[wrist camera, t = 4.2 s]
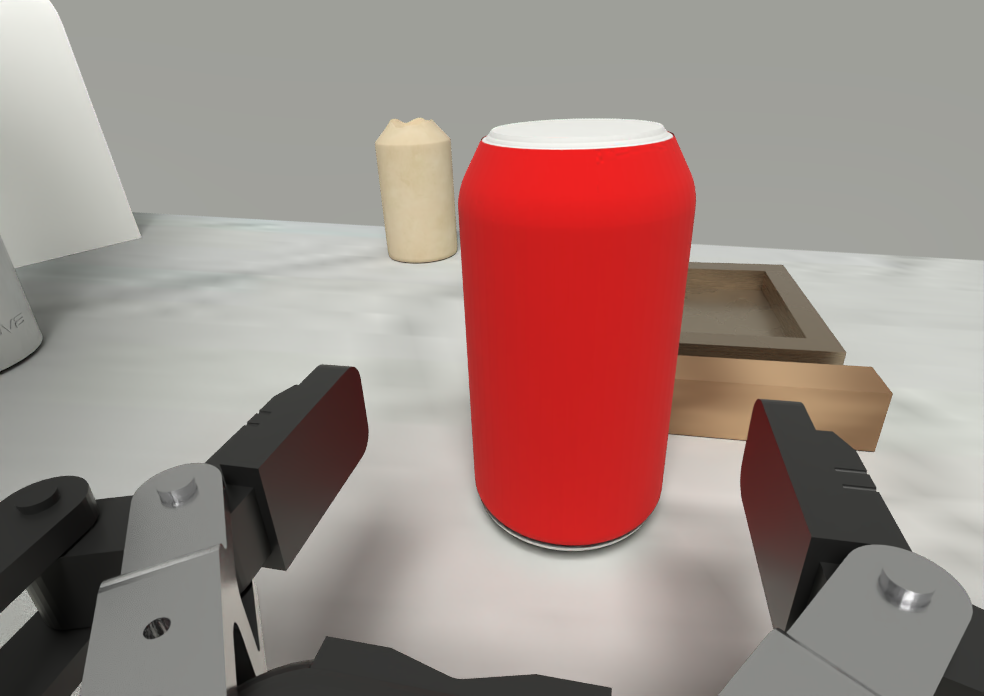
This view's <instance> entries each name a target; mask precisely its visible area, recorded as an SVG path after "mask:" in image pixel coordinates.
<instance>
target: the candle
mask: <svg viewBox="0 0 984 696" xmlns="http://www.w3.org/2000/svg"><path fill="white" fill-rule="evenodd" d="M375 148H376V156H377V164H378V173H379V180H380V188H381V197H382V206H383V214H384V222H385V231H386V239H387V246H388V252H389V256H390V257H391V258H392V259H394V260H397V261H401V262H409V263H422V262H432V261H438V260H442V259H445V258H448V257H450V256H452V255H454V254H455V253H456V252H457V232H456V217H455V204H454V187H453V172H452V156H451V142H450V138H449V137H448V136H447V135H446V134H445V133H444V132H443V131H442V130H441V129H440V128H439V127H438V126H437V125H436V124H435V122H434V121H433V120H430V121H429V120H424V119H423V118H417V119H414V120H412V121H410V122H408V123H403V122H401V121H400V120H398V119H392V120H390V122H389V124H388V125H387V127H386V128H385V130H384V131H383V132H382V134H381V135H380V137H379V138H378V139H377V141H376V142H375Z"/></svg>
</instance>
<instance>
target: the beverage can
mask: <svg viewBox="0 0 984 696" xmlns="http://www.w3.org/2000/svg"><path fill="white" fill-rule="evenodd" d="M695 204H696V193H695V186H694V181H693V178H692V175H691V172H690V170H689V168H688V166H687V163H686V161H685V159H684V157H683V154H682V152H681V150H680V147H679V145H678V143H677V140H676V138H675V136H674V134H673V133H671V132H669V131H666V130H665V128H664V126H663V125H662V124H659V123H656V122H651V121H644V120H632V119H559V120H542V121H530V122H521V123H514V124H507V125H502V126H498V127H495V128H493V129H492V130H491V131H490V133H489V135H487V136H485V137H483V138H482V139H481V141H480V143H479V146H478V148H477V150H476V152H475V154H474V156H473V159H472V160H471V163H470V165H469V167H468V169H467V171H466V174H465V176H464V178H463V181H462V184H461V188H460V193H459V199H458V211H459V227H460V244H461V260H462V276H463V292H464V308H465V324H466V340H467V356H468V372H469V389H470V405H471V421H472V437H473V453H474V469H475V481H476V487H477V490H478V493H479V495H480V497H481V500H482V503H483V505H484V507H485V509H486V510H487V512H488V514H489V515H490V516H491V518H492V519H493V520H494V521H495V522H496V523H497V524H498V525H499V526H500V527H502V528H503V529H504V530H505V531H507V532H508V533H510V534H511V535H513V536H515V537H517V538H519V539H521V540H523V541H525V542H528V543H530V544H533V545H536V546H540V547H544V548H548V549H554V550H563V551H582V550H591V549H596V548H601V547H605V546H608V545H611V544H614V543H616V542H619V541H620V540H622V539H624V538H626V537H628V536H629V535H631V534H632V533H634V532H635V531H636V530H637V529H638V528H640V527H641V525H642V524H643V523H644V522H645V521H646V519H647V518H648V516H649V515H650V514H651V513H652V511H653V510H654V508H655V507H656V505H657V503H658V500H659V498H660V494H661V490H662V482H663V473H664V465H665V457H666V448H667V440H668V432H669V423H670V415H671V407H672V398H673V390H674V382H675V373H676V365H677V357H678V348H679V340H680V332H681V323H682V315H683V307H684V298H685V290H686V282H687V273H688V265H689V257H690V248H691V240H692V232H693V223H694V215H695V206H696V205H695Z"/></svg>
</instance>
